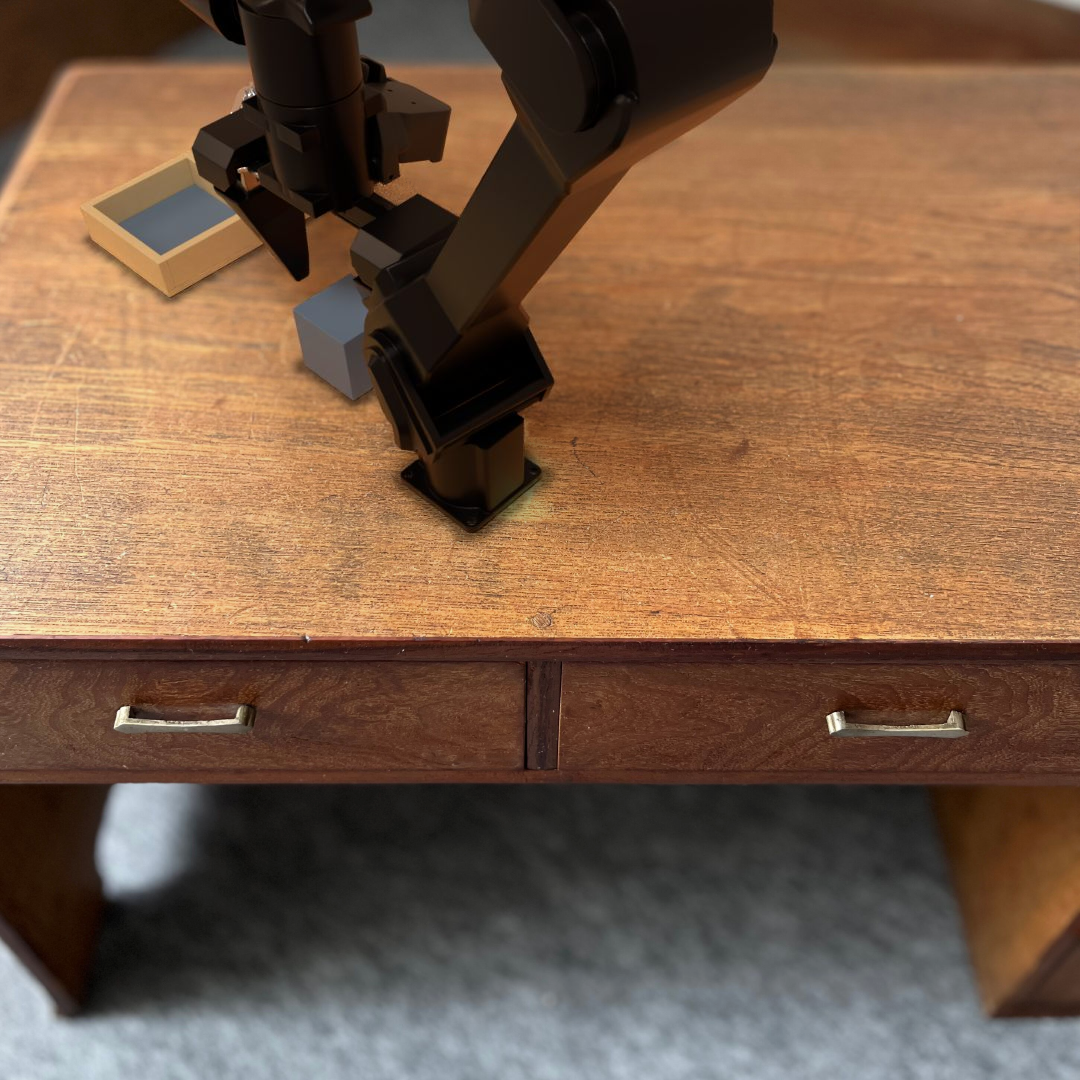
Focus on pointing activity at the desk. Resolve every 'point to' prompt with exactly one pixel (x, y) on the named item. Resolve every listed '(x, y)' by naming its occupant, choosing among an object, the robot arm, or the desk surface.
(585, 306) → the desk surface
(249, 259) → the desk surface
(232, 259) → the tray
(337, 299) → the blue block
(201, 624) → the desk surface
